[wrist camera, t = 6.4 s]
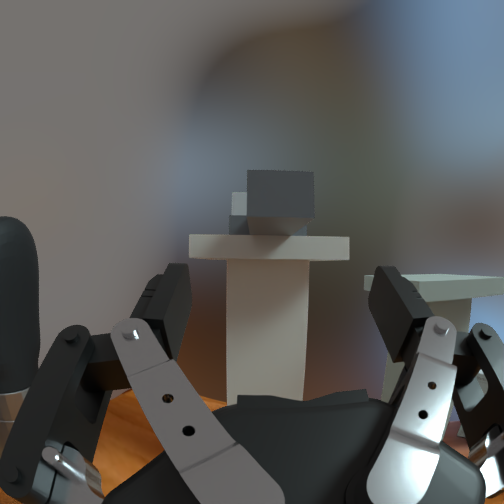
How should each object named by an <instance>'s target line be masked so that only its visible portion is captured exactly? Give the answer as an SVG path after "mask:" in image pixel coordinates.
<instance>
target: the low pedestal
mask: <svg viewBox="0 0 504 504" xmlns="http://www.w3.org/2000/svg"><path fill="white" fill-rule="evenodd" d="M401 276H402V277H405V278H406V279H407V280H409V281H410V282H411V283H413V285H414V286H415V287H416V289H417V290H418V292H419V293H420V295H421V296H422V298H423V299H424V300H425V302H426V303H427V305H428V306H429V308H430V309H431V311H432V312H433V314H434V315H435V316H439V317H443V318H445V319H447V320H449V321H450V322H451V323H452V324H453V325H454V326H455V328H456V331H460V332H467V333H468V331H469V322H470V313H471V300H472V298H476V297H485V296H493V295H502V294H504V277H487V276H467V275H447V274H424V275H401ZM373 278H374V275H365V276H364V289H365V290H368V291H370V289H371V286H372V282H373ZM404 365H405V364H404V362H398V363H393V362H392V359H391V357H390V354H389V352H388V356H387V365H386V371H385V378H384V384H383V390H382V396H381V401H384V402H386V403H388V402H389V400H390V398H391V395H392V393H393V391H394V388H395V386H396V384H397V381H398V379H399V376H400V374H401V371H402V369H403V367H404ZM453 405H454V403H453V401H452V398H451V402H450V406H449V410H448V414H447V418H446V422H445V426H444V429H443V433H442V436H441V439H440V440H441V441H442V440H443V437H444V434H445V431H446V428H447V425H448V422H449V419H450V416H451V412H452V409H453Z"/></svg>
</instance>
